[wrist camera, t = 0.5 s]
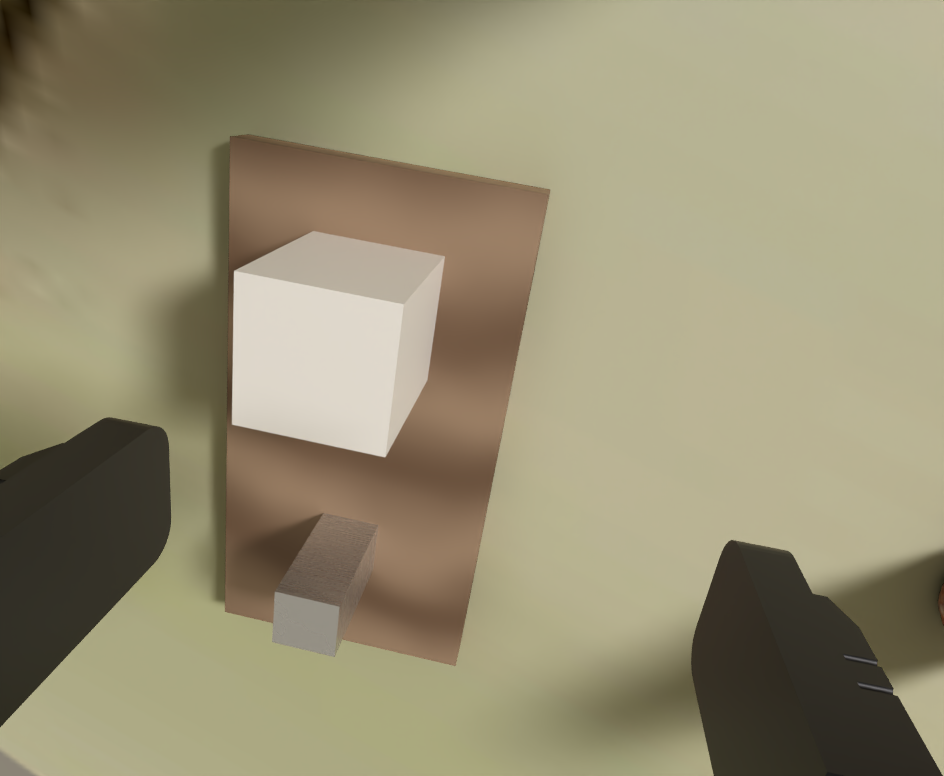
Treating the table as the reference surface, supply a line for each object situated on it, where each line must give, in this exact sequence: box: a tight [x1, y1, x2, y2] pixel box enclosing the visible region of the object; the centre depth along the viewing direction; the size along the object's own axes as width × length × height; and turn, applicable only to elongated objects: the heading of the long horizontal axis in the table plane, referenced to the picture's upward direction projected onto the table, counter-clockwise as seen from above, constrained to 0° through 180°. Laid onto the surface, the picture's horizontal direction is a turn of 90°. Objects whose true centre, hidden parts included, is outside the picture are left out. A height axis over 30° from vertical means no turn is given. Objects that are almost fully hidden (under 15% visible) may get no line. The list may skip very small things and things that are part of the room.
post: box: [272, 513, 378, 657], centre depth 29 cm, size 3×3×6 cm
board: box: [225, 135, 550, 666], centre depth 30 cm, size 23×12×2 cm, turn 171°
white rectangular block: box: [232, 231, 445, 457], centre depth 24 cm, size 5×5×7 cm
